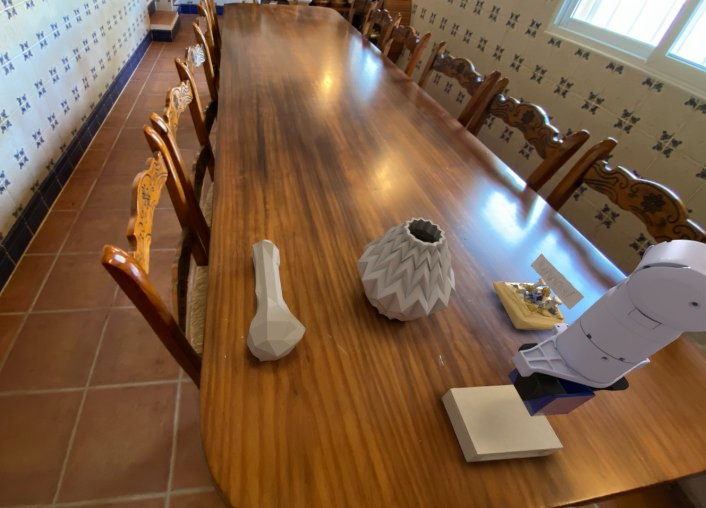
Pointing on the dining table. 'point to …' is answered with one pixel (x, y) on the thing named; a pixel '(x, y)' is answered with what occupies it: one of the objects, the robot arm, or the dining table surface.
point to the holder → (557, 398)
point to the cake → (538, 298)
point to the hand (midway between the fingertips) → (540, 390)
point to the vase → (408, 270)
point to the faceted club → (271, 308)
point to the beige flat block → (497, 424)
